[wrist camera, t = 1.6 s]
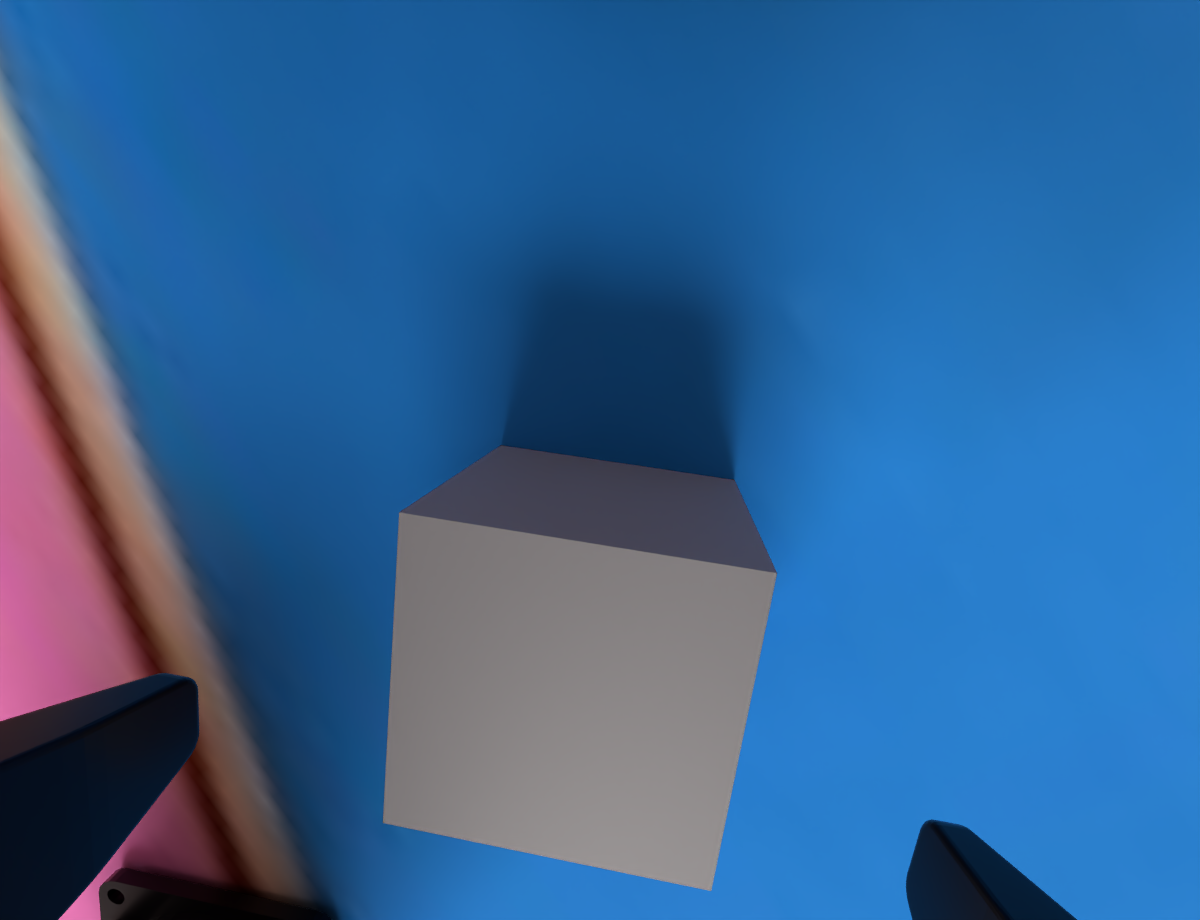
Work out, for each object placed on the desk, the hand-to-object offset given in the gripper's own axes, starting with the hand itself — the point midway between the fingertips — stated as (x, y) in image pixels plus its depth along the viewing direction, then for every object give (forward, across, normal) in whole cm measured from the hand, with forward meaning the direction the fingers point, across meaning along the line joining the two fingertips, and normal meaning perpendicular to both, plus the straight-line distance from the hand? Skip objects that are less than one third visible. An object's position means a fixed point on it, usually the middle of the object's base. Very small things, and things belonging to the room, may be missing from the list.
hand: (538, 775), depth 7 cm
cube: (+6, 0, 0) cm, 6 cm away
